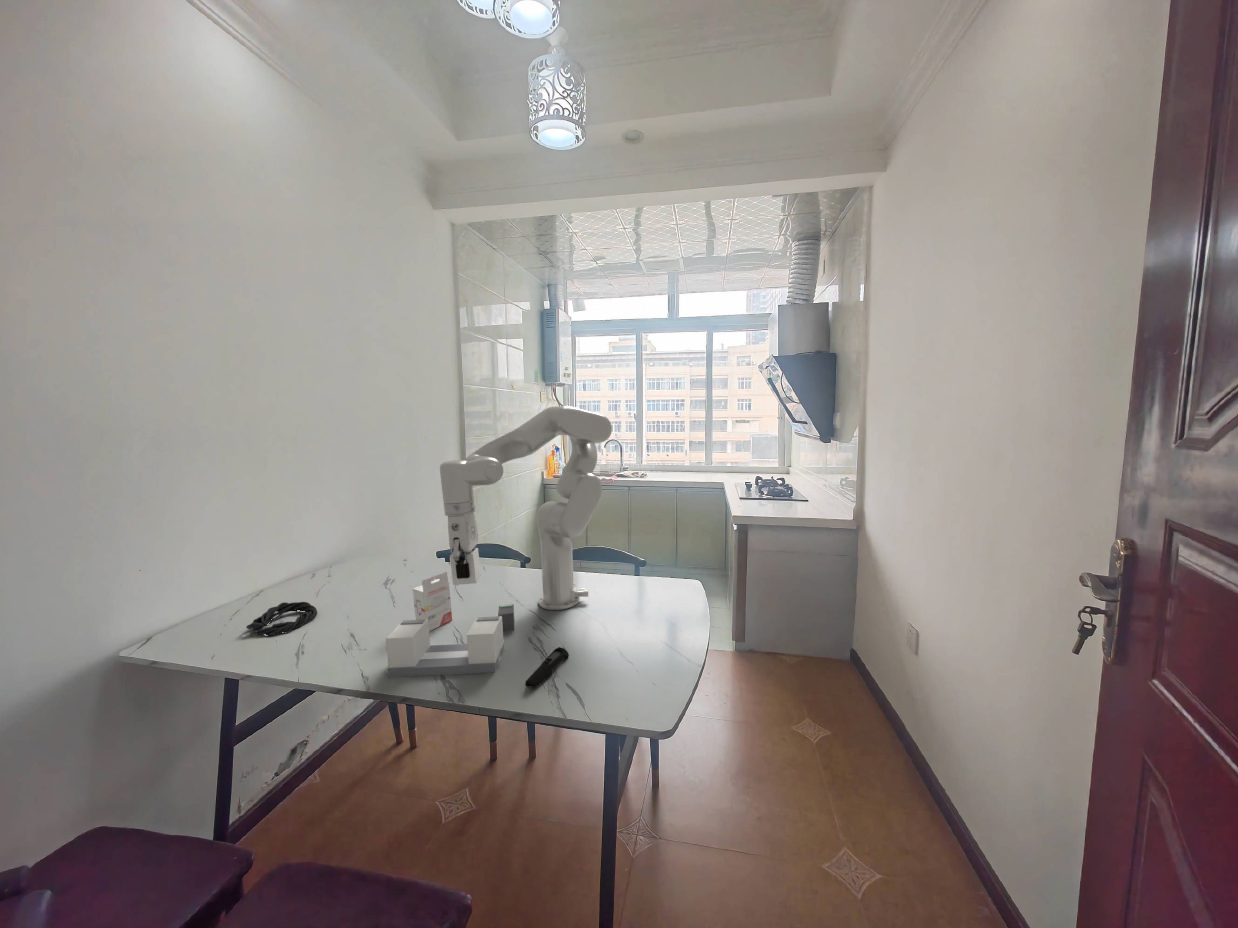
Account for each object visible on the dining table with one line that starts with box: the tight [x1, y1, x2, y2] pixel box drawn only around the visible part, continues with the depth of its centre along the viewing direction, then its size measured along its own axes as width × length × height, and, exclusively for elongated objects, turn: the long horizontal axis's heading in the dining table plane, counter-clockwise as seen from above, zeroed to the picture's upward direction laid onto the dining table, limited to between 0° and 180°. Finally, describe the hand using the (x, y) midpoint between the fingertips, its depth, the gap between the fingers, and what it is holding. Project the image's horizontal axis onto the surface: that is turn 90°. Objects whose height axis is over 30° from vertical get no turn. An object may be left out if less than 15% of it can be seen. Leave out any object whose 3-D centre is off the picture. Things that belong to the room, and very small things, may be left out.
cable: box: [246, 601, 318, 636], centre depth 134 cm, size 17×14×4 cm
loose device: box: [497, 603, 515, 633], centre depth 127 cm, size 4×6×5 cm, turn 12°
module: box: [449, 547, 482, 586], centre depth 123 cm, size 6×5×8 cm
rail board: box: [385, 615, 505, 678], centre depth 109 cm, size 24×10×9 cm, turn 92°
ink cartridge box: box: [412, 571, 453, 632], centre depth 129 cm, size 9×5×15 cm, turn 148°
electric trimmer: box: [524, 647, 570, 689], centre depth 104 cm, size 4×16×3 cm, turn 158°
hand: (466, 573), depth 123 cm, fingers closed on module, 5 cm apart
